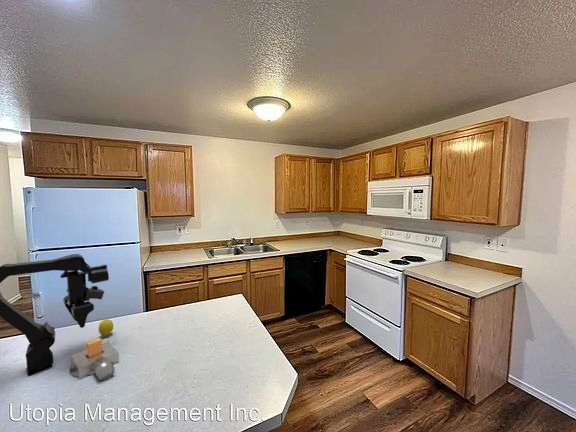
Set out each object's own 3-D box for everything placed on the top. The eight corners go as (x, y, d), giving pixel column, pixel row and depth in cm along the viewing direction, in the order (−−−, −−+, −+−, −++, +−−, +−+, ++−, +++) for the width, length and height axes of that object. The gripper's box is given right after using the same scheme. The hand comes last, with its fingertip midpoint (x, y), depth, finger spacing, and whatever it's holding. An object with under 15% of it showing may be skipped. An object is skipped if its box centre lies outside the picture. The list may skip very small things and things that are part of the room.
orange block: (89, 365, 94) (88, 344, 94) (87, 362, 96) (86, 342, 95) (102, 359, 97) (101, 340, 97) (100, 357, 99) (99, 337, 98)
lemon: (101, 340, 112) (100, 323, 112) (97, 336, 116) (96, 319, 115) (115, 335, 117) (114, 318, 116) (111, 331, 120) (110, 315, 119)
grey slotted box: (79, 392, 82) (78, 378, 82) (65, 365, 96) (64, 353, 95) (130, 368, 94) (130, 355, 93) (111, 347, 107) (111, 336, 107)
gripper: (108, 285, 100) (110, 323, 101) (94, 276, 112) (97, 310, 113) (72, 293, 92) (75, 334, 93) (61, 283, 104) (64, 319, 105)
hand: (79, 323), depth 101 cm, fingers open, 9 cm apart
